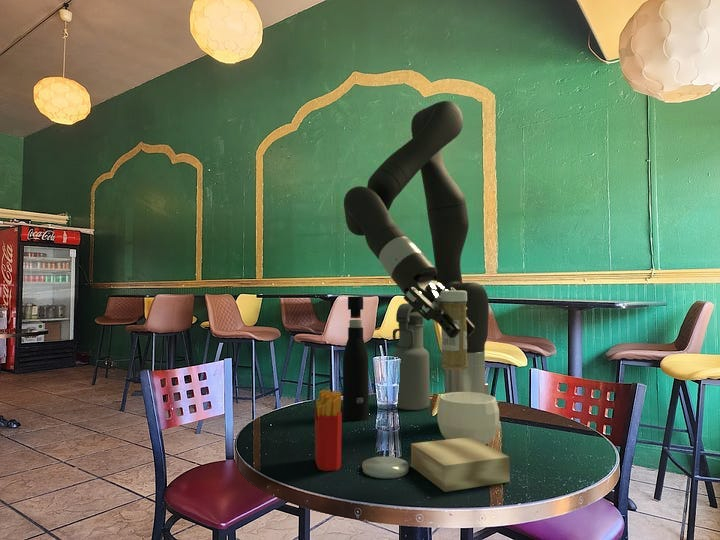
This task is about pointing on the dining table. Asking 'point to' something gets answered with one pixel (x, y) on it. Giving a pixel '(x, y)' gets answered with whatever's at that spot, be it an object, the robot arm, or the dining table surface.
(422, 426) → the dining table surface
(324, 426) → the french fries
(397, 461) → the pale grey dome
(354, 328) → the black bottle
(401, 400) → the water bottle
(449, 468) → the birch block
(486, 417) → the cup
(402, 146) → the robot arm
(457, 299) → the sprinkles bottle
